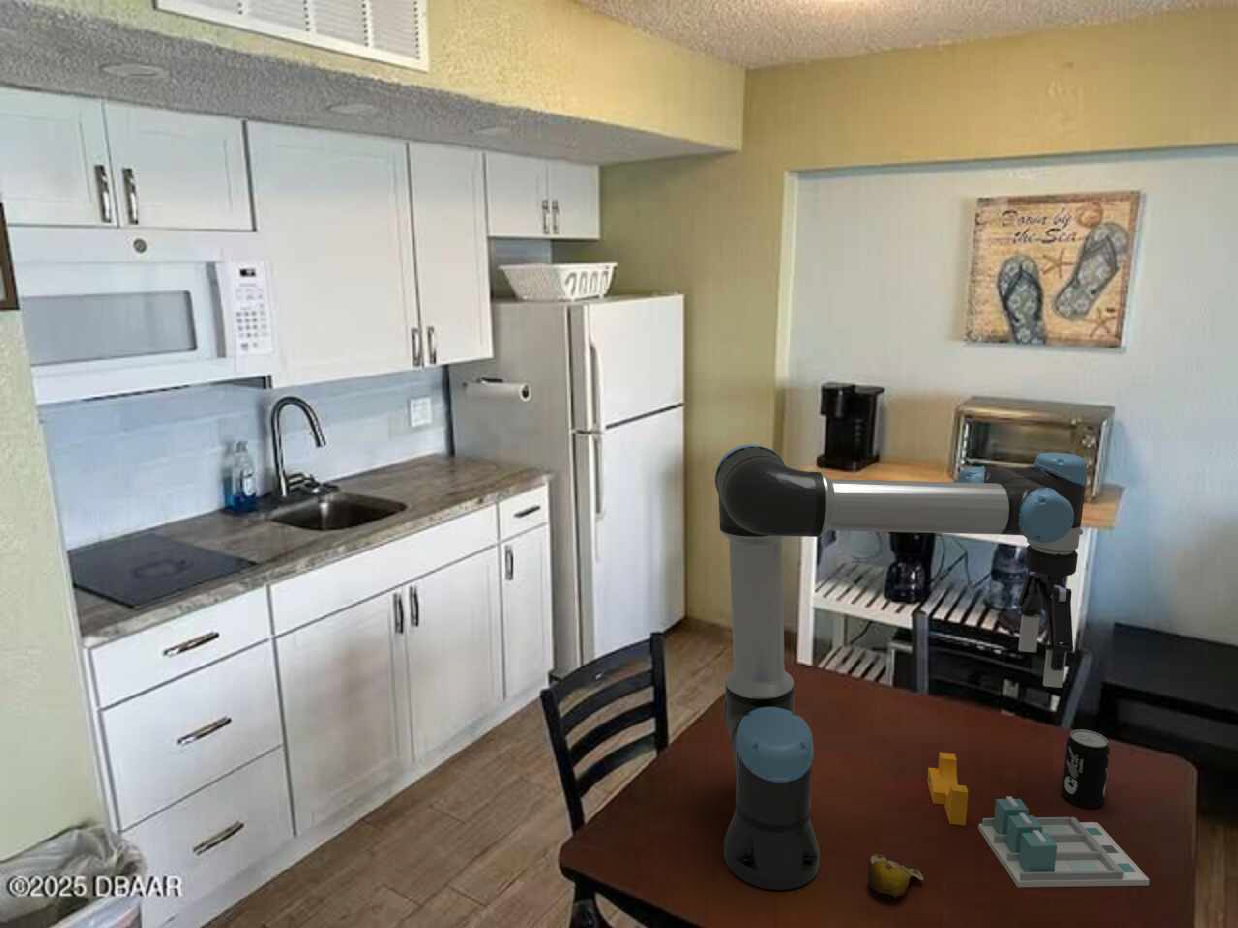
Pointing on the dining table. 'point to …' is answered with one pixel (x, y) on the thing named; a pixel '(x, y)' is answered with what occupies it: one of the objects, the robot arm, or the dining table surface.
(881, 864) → the fruit
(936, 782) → the pipe clamp
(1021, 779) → the dining table surface
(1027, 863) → the tab near
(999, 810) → the tab far
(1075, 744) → the beverage can
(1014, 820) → the tab mid
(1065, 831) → the switch board
